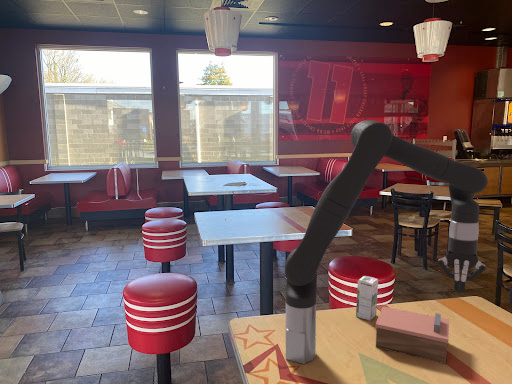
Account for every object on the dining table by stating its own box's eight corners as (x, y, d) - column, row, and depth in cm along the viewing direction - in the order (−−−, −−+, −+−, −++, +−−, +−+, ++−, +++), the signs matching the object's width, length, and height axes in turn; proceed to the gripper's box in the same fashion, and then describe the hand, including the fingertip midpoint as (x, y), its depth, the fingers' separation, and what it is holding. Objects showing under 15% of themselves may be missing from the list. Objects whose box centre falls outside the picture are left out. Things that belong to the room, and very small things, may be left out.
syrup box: (361, 311, 146) (363, 275, 144) (376, 315, 142) (378, 278, 140) (355, 316, 141) (356, 279, 139) (371, 321, 138) (372, 283, 136)
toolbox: (445, 363, 112) (447, 343, 111) (375, 346, 122) (376, 328, 120) (446, 342, 124) (448, 323, 123) (382, 328, 133) (383, 310, 132)
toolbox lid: (448, 343, 111) (449, 331, 110) (375, 327, 120) (375, 316, 120) (449, 322, 123) (449, 312, 122) (382, 309, 132) (383, 299, 132)
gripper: (437, 236, 111) (434, 292, 114) (490, 241, 105) (485, 301, 107) (438, 230, 117) (435, 283, 120) (488, 235, 111) (484, 291, 114)
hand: (459, 292), depth 114 cm, fingers closed
